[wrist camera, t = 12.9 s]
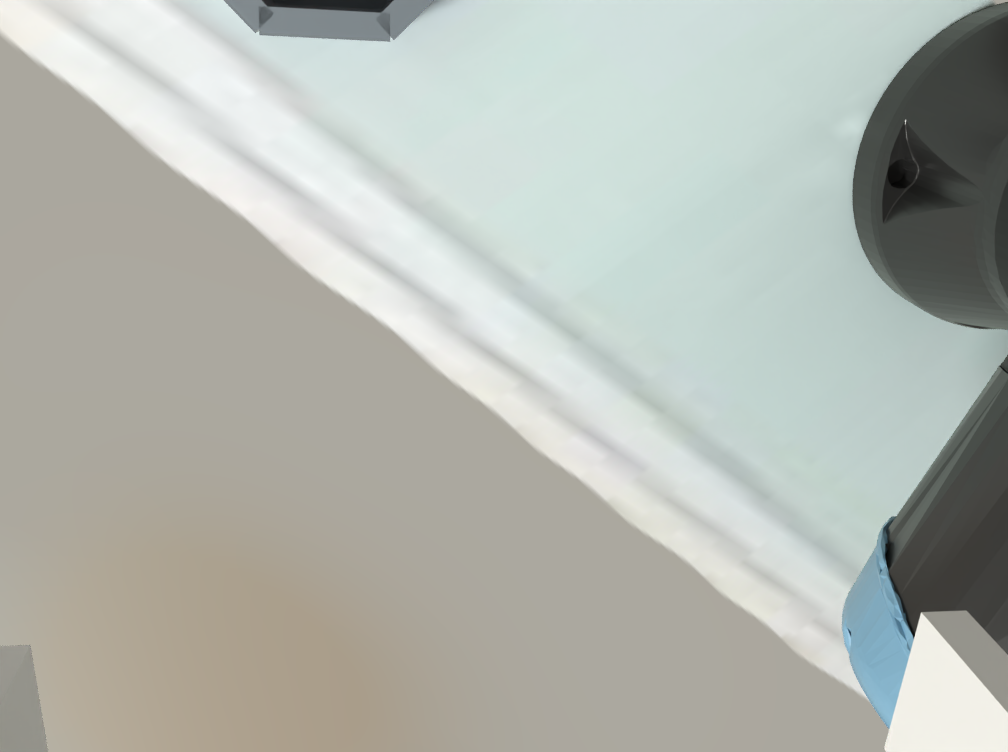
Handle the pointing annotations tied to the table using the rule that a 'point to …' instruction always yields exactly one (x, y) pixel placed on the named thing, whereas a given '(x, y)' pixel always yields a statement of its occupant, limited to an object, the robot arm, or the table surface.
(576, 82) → the table surface
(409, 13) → the grey octagonal bowl
